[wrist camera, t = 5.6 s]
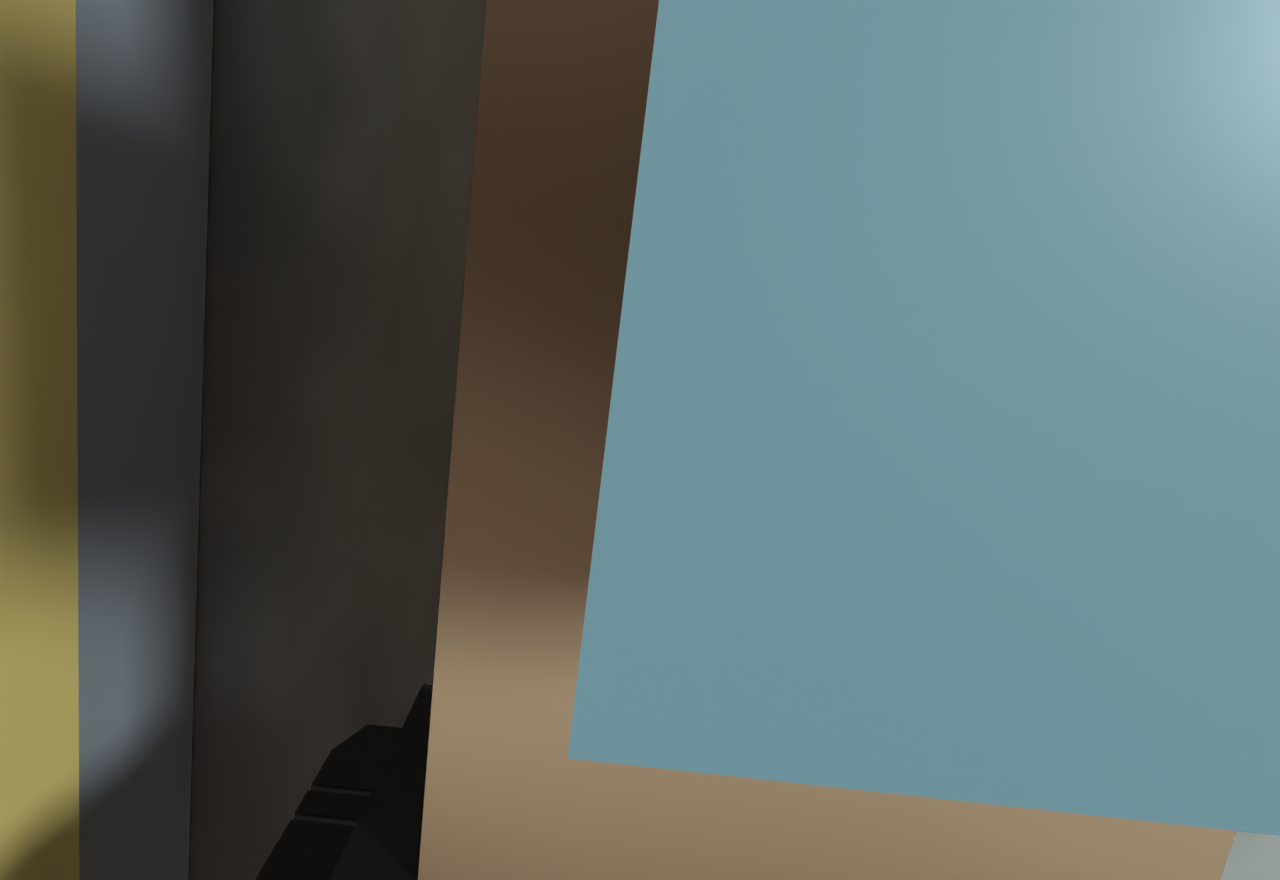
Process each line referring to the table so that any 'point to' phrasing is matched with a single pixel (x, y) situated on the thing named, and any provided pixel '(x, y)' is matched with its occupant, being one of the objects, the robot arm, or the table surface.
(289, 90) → the table surface
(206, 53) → the dock
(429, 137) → the table surface
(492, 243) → the board
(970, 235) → the block
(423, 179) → the table surface
